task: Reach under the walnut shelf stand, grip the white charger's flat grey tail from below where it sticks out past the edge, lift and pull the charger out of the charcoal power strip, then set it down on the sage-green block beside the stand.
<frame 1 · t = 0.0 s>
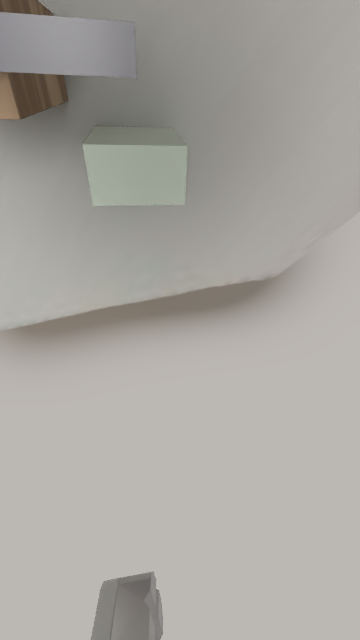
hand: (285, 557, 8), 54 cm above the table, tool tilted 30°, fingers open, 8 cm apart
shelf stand: (15, 57, 38), on the table
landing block: (135, 151, 47), on the table
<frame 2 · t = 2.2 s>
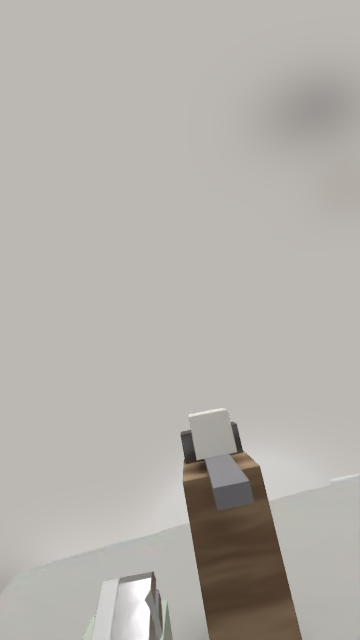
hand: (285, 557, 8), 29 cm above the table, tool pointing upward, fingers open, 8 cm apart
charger: (216, 462, 37), point 25 cm above the table, touching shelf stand
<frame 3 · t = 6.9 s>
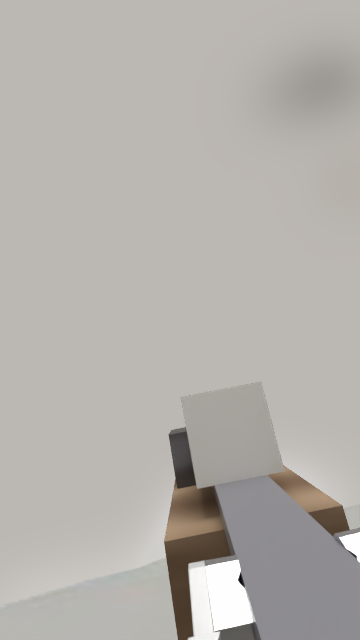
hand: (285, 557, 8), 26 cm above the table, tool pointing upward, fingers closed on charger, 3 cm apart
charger: (234, 487, 19), point 25 cm above the table, touching gripper, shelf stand
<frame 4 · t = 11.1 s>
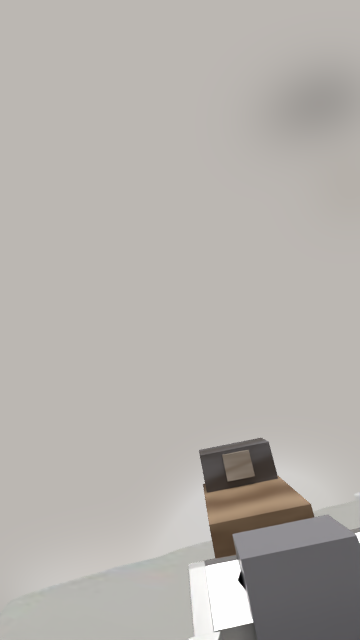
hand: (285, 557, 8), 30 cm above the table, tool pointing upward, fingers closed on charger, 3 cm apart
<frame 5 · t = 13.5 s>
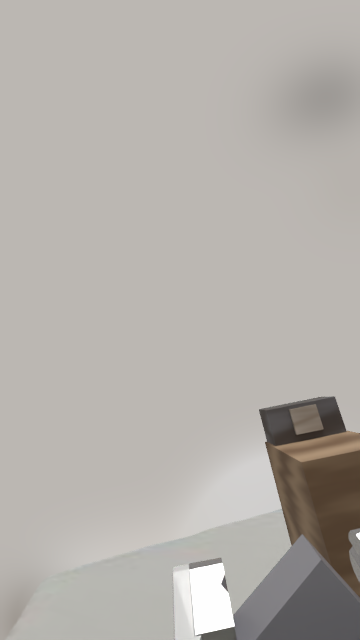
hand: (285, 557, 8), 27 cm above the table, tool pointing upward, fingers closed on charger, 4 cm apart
when the fingers open (19 cm above the table, at t = 15.3 s): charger drops 3 cm and tips over, resting on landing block.
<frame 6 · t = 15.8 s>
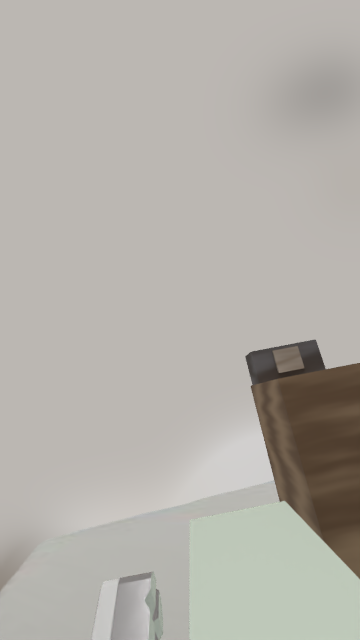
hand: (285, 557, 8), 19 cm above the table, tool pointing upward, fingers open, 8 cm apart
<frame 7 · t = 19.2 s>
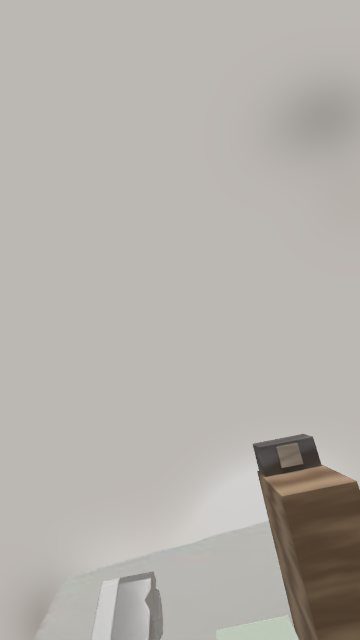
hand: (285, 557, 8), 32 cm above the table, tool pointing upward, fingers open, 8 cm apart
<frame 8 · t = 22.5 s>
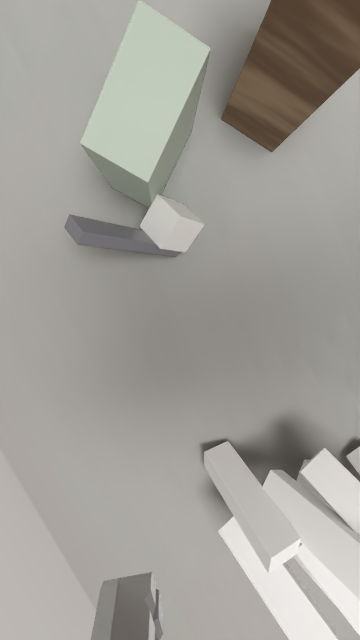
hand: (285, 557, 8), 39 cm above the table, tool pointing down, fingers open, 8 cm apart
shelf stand: (267, 95, 40), on the table
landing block: (151, 159, 41), on the table
pile of blocks: (293, 473, 56), on the table
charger: (164, 249, 42), point 2 cm above the table, tilted 69°, touching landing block
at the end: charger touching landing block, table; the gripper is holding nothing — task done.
